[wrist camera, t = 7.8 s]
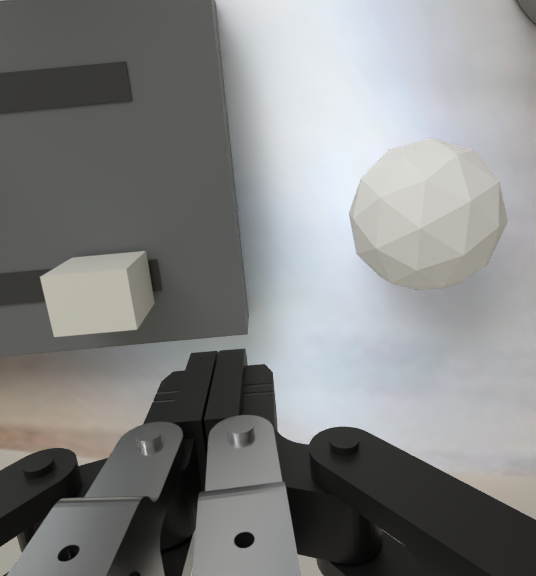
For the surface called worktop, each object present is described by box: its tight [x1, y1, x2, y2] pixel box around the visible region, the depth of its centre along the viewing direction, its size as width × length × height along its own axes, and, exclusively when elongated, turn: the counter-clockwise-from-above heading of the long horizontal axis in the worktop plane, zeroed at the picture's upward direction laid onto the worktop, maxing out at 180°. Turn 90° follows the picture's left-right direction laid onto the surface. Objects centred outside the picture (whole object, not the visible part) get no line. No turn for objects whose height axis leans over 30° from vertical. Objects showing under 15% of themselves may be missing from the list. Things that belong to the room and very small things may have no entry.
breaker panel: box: [0, 0, 249, 356], centre depth 27 cm, size 24×18×3 cm
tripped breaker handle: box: [40, 251, 155, 337], centre depth 24 cm, size 4×3×4 cm
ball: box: [349, 138, 508, 289], centre depth 25 cm, size 8×8×8 cm
